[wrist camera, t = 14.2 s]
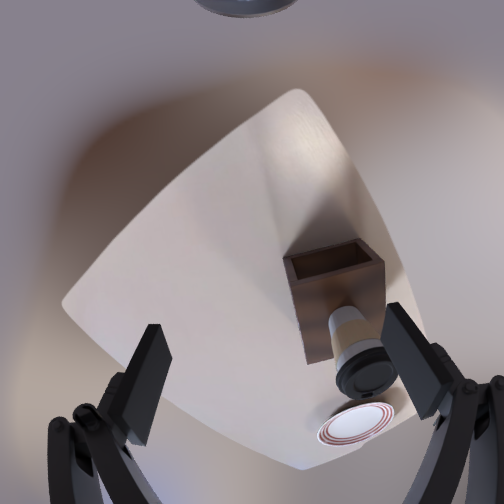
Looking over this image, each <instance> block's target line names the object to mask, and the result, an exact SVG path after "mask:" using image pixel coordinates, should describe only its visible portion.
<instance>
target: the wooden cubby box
mask: <svg viewBox="0 0 504 504" xmlns="http://www.w3.org/2000/svg"><path fill="white" fill-rule="evenodd" d="M283 262H284V266H285V270H286V274H287V279H288V283H289V287H290V291H291V295H292V300H293V304H294V308H295V313H296V317H297V322H298V326H299V331H300V335H301V339H302V344H303V348H304V353H305V357H306V362H307V365H309V364H313V363H317V362H321V361H325V360H328V359H332V358H334V354H333V349H332V344H331V340H332V339H331V334H330V329H329V318H330V316H331V314H332V313H333V312H334V311H335V310H336V309H338V308H341V307H344V306H353V307H355V308H357V309H358V310H359V312H360V313H361V314H362V315H363V316H364V318H365V319H366V320H367V321H368V322H369V323H370V324H371V325H372V326H373V327H374V329H375V330H376V331H377V333H378V334H379V335H380V336H381V332H382V328H383V323H384V318H385V313H386V291H385V264H384V261H383V260H382V259H381V258H380V257H379V256H378V255H377V254H376V253H375V252H374V251H373V250H372V249H371V248H370V247H369V246H368V245H367V244H366V243H365V242H364V241H363V240H362V239H361V238H359V239H355V240H351V241H347V242H343V243H339V244H336V245H332V246H328V247H324V248H320V249H316V250H312V251H308V252H304V253H300V254H296V255H292V256H288V257H284V258H283Z"/></svg>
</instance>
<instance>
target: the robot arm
mask: <svg viewBox="0 0 504 504" xmlns="http://www.w3.org/2000/svg"><path fill="white" fill-rule="evenodd" d="M380 341H381V343H382V344H383V346H384V348H385V350H386V352H387V354H388V355H389V357H390V359H391V361H392V363H393V365H394V367H395V369H396V371H397V372H398V374H399V376H400V378H401V380H402V382H403V384H404V386H405V388H406V390H407V392H408V394H409V396H410V398H411V400H412V402H413V404H414V406H415V408H416V411H417V413H418V415H419V417H420V419H421V420H424V419H426V418H429V417H431V416H433V415H434V414H435V412H436V411H437V409H438V410H439V412H440V415H439V416H438V418H437V419H436V421H435V423H434V424H433V426H435V424H436V426H435V430H434V432H433V435H432V438H431V441H430V444H429V446H428V449H427V452H426V454H425V457H424V459H423V462H422V464H421V466H420V469H419V471H418V473H417V475H416V478H415V480H414V482H413V484H412V486H411V488H410V491H409V492H408V494H407V496H406V498H405V500H404V502H403V504H451V502H452V499H453V497H454V495H455V492H456V489H457V487H458V484H459V481H460V478H461V475H462V472H463V468H464V465H465V462H466V458H467V455H468V451H469V447H470V462H469V477H468V486H467V494H466V501H465V504H504V377H503V376H501V375H497V376H494V377H493V378H492V380H491V381H490V383H486V384H477V383H476V382H475V381H474V380H471V379H465V378H464V376H463V375H462V373H461V372H460V370H459V369H458V368H457V366H456V365H455V363H454V362H453V361H452V360H451V358H450V356H449V355H448V354H447V352H446V351H445V350H444V348H443V347H441V346H440V345H439V344H437V343H433V344H430V343H429V342H428V341H427V339H426V338H425V337H424V335H423V334H422V332H421V331H420V330H419V328H418V327H417V326H416V324H415V323H414V322H413V320H412V319H411V318H410V316H409V315H408V314H407V313H406V311H405V310H404V309H403V307H402V306H401V305H400V304H399V302H394V303H389V304H387V307H386V313H385V318H384V323H383V328H382V332H381V337H380ZM171 361H172V356H171V353H170V351H169V348H168V345H167V342H166V339H165V336H164V334H163V331H162V328H161V325H160V324H148V326H147V328H146V330H145V332H144V334H143V336H142V338H141V340H140V342H139V344H138V346H137V348H136V350H135V352H134V354H133V356H132V359H131V361H130V363H129V365H128V367H127V369H126V371H125V373H121V372H117V373H116V374H115V375H114V376H113V377H112V378H111V380H110V382H109V384H108V387H107V388H106V390H105V393H104V394H103V397H102V399H101V401H100V403H99V406H98V407H97V409H96V408H95V406H93V405H92V404H88V403H85V404H81V405H79V406H78V407H77V408H76V409H75V410H74V412H73V419H74V421H75V422H74V423H69V422H68V421H67V419H66V418H64V417H56V418H54V419H53V420H51V422H50V423H49V427H48V452H47V453H48V454H47V455H48V482H49V495H50V503H51V504H104V503H103V499H102V494H101V489H100V484H99V479H98V473H99V475H100V477H101V480H102V482H103V484H104V486H105V488H106V490H107V492H108V494H109V496H110V498H111V500H112V502H113V504H162V502H161V501H160V500H159V498H158V497H157V495H156V494H155V492H154V491H153V489H152V488H151V486H150V485H149V483H148V481H147V480H146V478H145V477H144V475H143V473H142V472H141V470H140V469H139V467H138V465H137V463H136V462H135V460H134V458H133V456H132V455H131V453H130V451H129V449H128V447H127V446H126V445H125V443H126V440H127V439H128V440H129V441H130V442H131V444H135V445H140V446H146V444H147V440H148V436H149V433H150V429H151V426H152V422H153V419H154V416H155V412H156V409H157V406H158V402H159V399H160V396H161V393H162V389H163V386H164V383H165V380H166V377H167V373H168V370H169V367H170V364H171ZM97 471H98V473H97Z"/></svg>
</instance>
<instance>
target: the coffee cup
mask: <svg viewBox="0 0 504 504" xmlns="http://www.w3.org/2000/svg"><path fill="white" fill-rule="evenodd" d="M329 329H330V334H331V339H332V340H331V344H332V349H333V354H334V359H335V365H336V369H337V372H338V373H337V376H336V385H337V387H338V388H339V390H340V391H341V392H342V393H343V394H345V395H347V396H348V397H349V398H351V399H355V400H364V399H369V398H372V397H375V396H377V395H379V394H381V393H382V392H384V391H385V390H387V389H388V388H389V387H390V386H391V385H392V384H393V383H394V382H395V380H396V378H397V376H398V372H397V371H396V369H395V367H394V365H393V363H392V361H391V359H390V357H389V355H388V354H387V352H386V350H385V348H384V346H383V344H382V343H381V341H380V337H381V336H380V335H379V334H378V333H377V331H376V330H375V329H374V327H373V326H372V325H371V324H370V323H369V322H368V321H367V320H366V319H365V318H364V316H363V315H362V314H361V313H360V312H359V310H358V309H357V308H355V307H353V306H344V307H341V308H338V309H336V310H335V311H334V312H333V313H332V314H331V316H330V318H329Z"/></svg>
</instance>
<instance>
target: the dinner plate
mask: <svg viewBox="0 0 504 504" xmlns="http://www.w3.org/2000/svg"><path fill="white" fill-rule="evenodd" d="M393 416H394V409H393V407H392V406H391V405H390V404H388V403H384V402H372V403H366V404H361V405H358V406H355V407H352V408H349V409H347V410H344V411H342V412H340V413H338V414H336V415H335V416H333V417H331V418H330V419H329V420H327V421H326V422H325V423H324V424H323V425H322V426H321V428H320V429H319V431H318V434H317V436H318V439H319V441H320V442H321V443H323V444H326V445H329V446H347V445H352V444H355V443H359V442H361V441H364V440H366V439H368V438H371V437H372V436H374V435H376V434H377V433H379V432H380V431H382V430H383V429H384V428H385V427H386V426H387V425H388V424H389V423H390V422H391V420H392V419H393Z"/></svg>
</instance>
